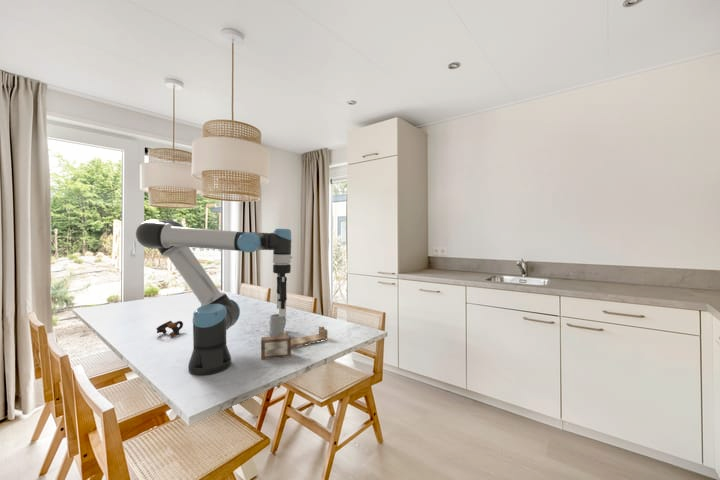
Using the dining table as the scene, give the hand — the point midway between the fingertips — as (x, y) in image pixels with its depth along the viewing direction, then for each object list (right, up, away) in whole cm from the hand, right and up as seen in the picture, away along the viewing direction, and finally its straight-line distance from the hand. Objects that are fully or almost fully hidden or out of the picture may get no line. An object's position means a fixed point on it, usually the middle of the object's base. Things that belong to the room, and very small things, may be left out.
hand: (280, 312), depth 136 cm
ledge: (+9, -17, +12) cm, 23 cm away
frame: (-1, -18, -4) cm, 18 cm away
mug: (-8, -17, +25) cm, 32 cm away
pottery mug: (-62, -17, +23) cm, 69 cm away
